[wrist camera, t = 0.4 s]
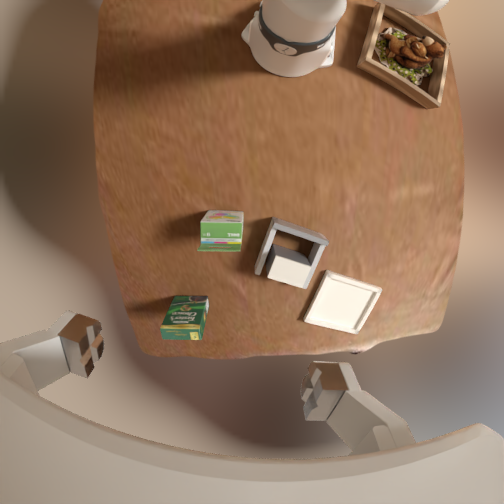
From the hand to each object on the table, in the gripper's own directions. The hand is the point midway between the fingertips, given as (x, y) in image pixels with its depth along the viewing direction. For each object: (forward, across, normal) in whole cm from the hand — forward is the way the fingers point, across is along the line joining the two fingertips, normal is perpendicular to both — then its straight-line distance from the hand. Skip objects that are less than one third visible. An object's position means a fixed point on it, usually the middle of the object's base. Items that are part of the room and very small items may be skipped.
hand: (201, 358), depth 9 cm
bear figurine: (+45, -28, -41) cm, 67 cm away
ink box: (+45, +2, +5) cm, 46 cm away
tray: (+45, -27, +20) cm, 56 cm away
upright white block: (+45, -11, +11) cm, 48 cm away
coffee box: (+45, +7, +25) cm, 52 cm away
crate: (+45, -28, -41) cm, 67 cm away
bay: (+45, -12, +9) cm, 47 cm away
